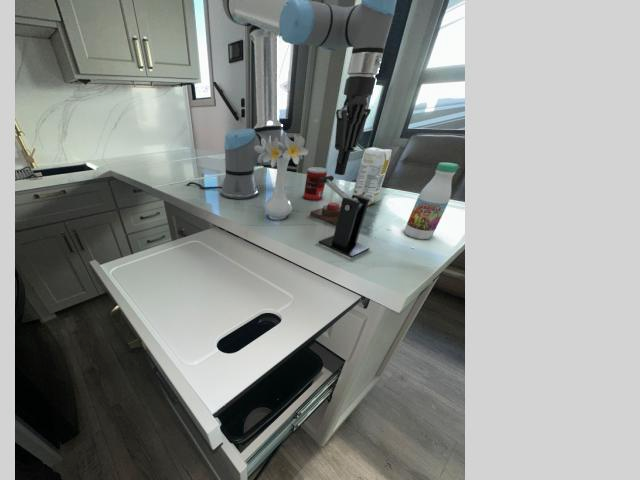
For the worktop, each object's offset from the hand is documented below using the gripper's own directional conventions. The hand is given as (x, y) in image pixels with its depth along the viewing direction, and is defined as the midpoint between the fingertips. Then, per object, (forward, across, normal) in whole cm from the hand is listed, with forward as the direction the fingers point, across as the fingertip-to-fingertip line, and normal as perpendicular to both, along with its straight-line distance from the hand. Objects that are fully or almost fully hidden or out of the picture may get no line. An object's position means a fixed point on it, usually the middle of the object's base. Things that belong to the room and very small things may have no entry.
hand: (339, 174), depth 84 cm
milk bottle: (+14, +12, -25) cm, 31 cm away
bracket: (+14, -15, -17) cm, 27 cm away
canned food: (+15, +14, +19) cm, 28 cm away
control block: (+15, 0, -1) cm, 15 cm away
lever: (+1, -15, -11) cm, 19 cm away
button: (+11, 0, -1) cm, 11 cm away
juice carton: (+15, +26, +3) cm, 30 cm away
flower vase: (+15, -14, +12) cm, 24 cm away
